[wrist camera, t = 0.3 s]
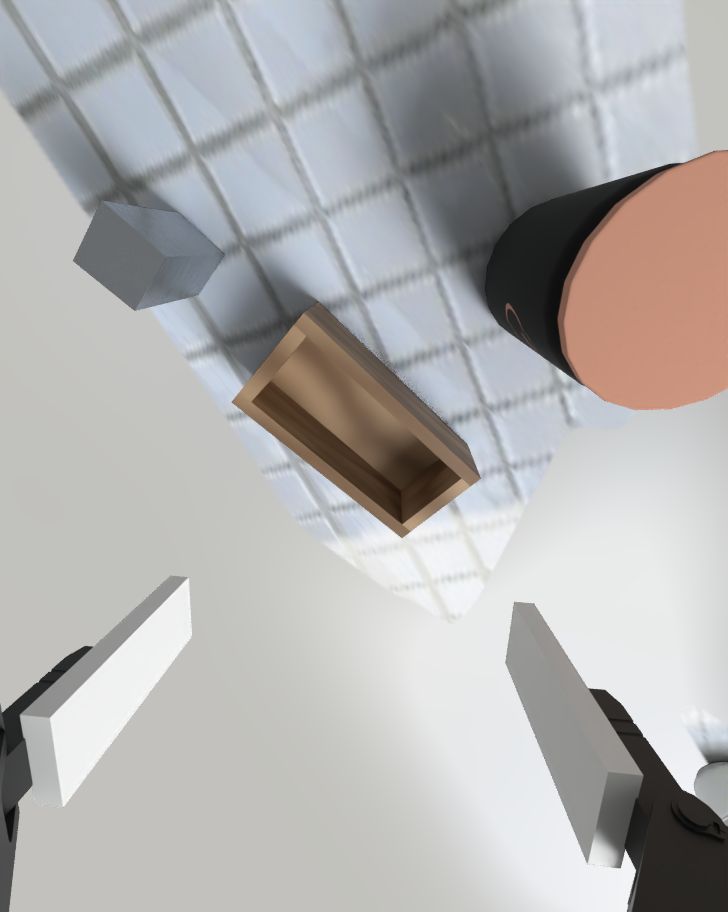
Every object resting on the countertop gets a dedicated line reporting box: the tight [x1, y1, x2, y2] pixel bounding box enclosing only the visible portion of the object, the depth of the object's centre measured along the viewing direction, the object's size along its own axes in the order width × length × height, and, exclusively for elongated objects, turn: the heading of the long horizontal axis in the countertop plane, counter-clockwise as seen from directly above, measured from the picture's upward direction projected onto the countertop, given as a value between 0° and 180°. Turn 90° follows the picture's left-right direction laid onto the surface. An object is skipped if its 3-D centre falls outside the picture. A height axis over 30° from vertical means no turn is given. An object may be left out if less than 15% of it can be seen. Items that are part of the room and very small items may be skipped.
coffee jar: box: [485, 150, 728, 410], centre depth 25 cm, size 11×11×18 cm
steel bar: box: [73, 201, 225, 311], centre depth 29 cm, size 4×4×10 cm
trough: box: [232, 302, 481, 538], centre depth 37 cm, size 10×21×7 cm, turn 47°
